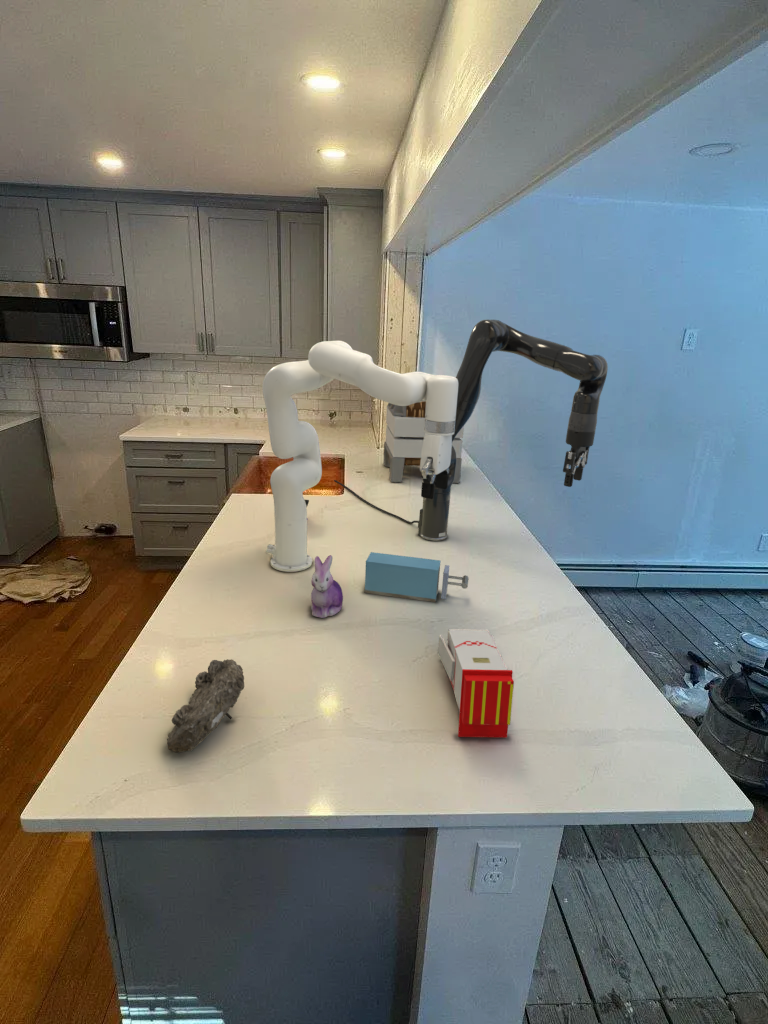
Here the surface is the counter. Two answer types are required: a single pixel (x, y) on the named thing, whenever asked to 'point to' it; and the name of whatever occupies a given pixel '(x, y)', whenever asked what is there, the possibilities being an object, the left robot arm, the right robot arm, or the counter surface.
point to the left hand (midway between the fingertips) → (434, 492)
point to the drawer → (445, 582)
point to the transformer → (410, 439)
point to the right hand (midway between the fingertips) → (572, 483)
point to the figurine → (325, 590)
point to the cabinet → (402, 576)
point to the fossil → (206, 705)
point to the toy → (478, 682)
